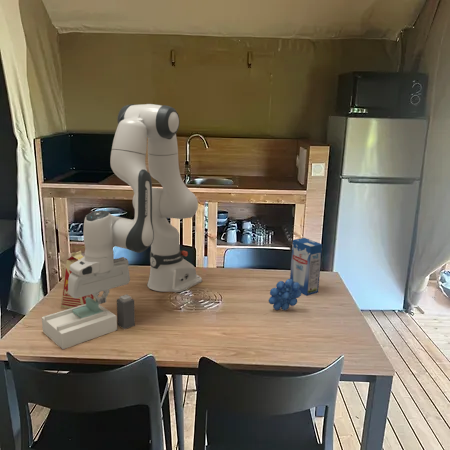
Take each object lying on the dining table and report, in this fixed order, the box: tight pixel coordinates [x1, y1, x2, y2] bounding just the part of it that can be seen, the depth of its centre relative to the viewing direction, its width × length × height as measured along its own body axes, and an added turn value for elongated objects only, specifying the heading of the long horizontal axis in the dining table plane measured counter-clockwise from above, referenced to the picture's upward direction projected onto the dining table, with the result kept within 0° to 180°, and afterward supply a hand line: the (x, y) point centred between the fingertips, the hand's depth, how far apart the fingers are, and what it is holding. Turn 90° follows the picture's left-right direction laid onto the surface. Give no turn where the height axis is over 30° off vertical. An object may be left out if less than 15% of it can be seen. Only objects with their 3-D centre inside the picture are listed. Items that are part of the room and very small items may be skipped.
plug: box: [116, 294, 136, 330], centre depth 147 cm, size 4×4×10 cm
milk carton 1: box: [60, 250, 96, 309], centre depth 160 cm, size 9×9×20 cm
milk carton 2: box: [289, 237, 323, 297], centre depth 179 cm, size 10×6×20 cm, turn 34°
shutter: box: [73, 297, 103, 318], centre depth 144 cm, size 7×7×4 cm
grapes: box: [268, 278, 303, 311], centre depth 162 cm, size 12×7×12 cm, turn 95°
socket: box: [41, 304, 118, 350], centre depth 143 cm, size 18×14×6 cm
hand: (101, 303), depth 147 cm, fingers closed
